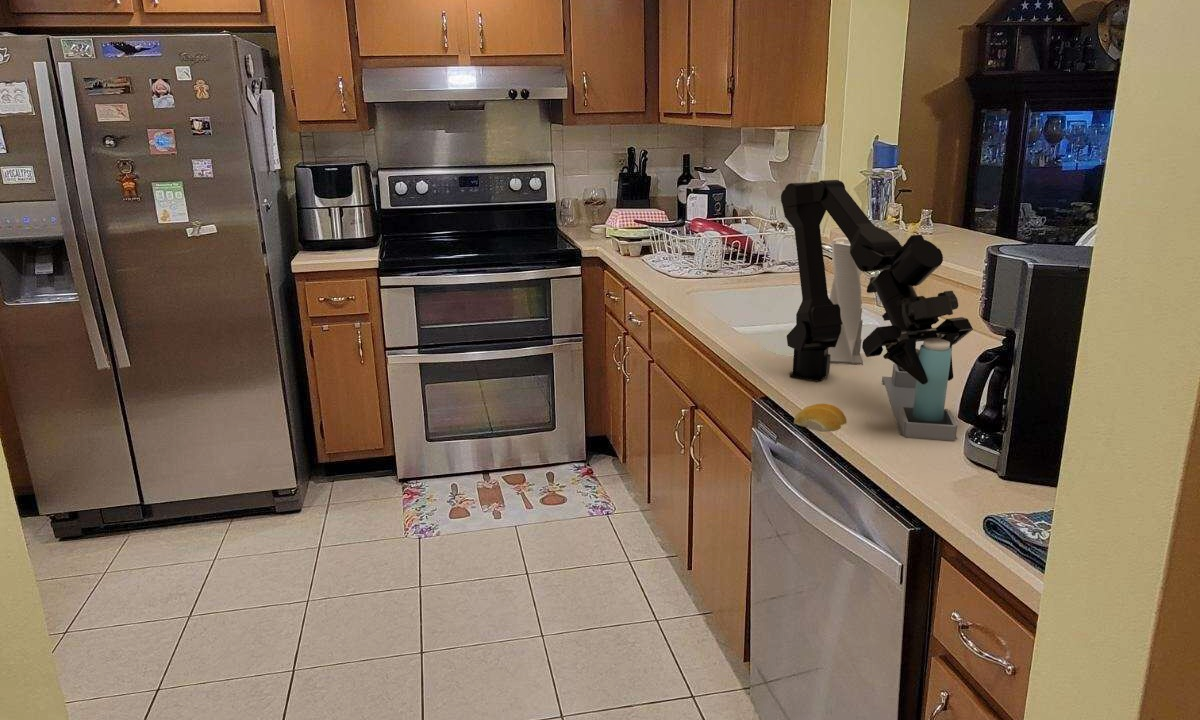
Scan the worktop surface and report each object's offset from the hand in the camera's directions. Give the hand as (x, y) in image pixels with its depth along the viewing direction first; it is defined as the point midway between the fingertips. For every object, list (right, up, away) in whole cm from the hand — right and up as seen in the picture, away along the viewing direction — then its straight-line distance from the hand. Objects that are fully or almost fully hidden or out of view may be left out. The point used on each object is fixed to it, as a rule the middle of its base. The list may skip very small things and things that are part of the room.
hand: (938, 381), depth 136 cm
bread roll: (-17, -9, +9) cm, 21 cm away
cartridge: (0, -6, +3) cm, 7 cm away
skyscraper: (-3, +3, +45) cm, 45 cm away
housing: (+2, -6, +16) cm, 17 cm away
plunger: (+5, 0, +27) cm, 27 cm away
